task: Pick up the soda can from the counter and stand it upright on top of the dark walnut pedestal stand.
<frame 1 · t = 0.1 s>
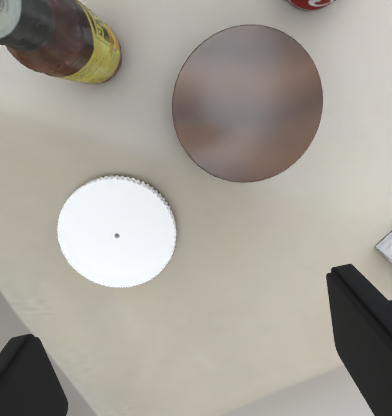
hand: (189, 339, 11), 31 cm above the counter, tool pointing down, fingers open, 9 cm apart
stand: (236, 107, 39), on the counter
plastic lid: (121, 227, 43), on the counter
sauce bottle: (93, 53, 37), on the counter
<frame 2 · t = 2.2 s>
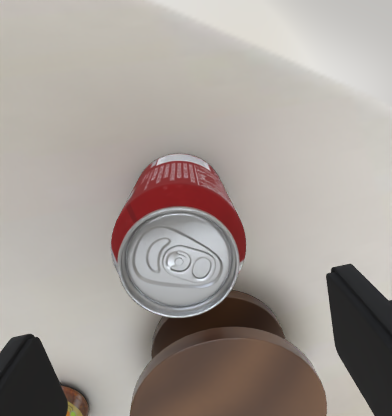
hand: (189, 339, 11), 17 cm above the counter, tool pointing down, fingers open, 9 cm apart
stand: (218, 346, 31), on the counter
soda can: (179, 194, 27), on the counter
sauce bottle: (57, 404, 33), on the counter
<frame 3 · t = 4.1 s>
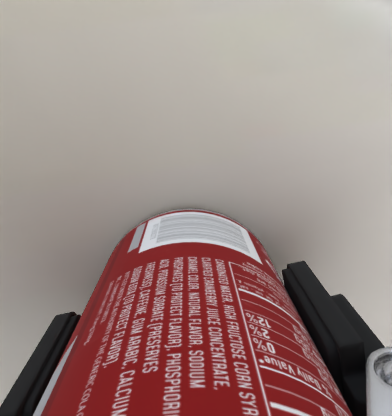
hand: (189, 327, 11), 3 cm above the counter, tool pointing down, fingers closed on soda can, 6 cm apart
soda can: (189, 277, 14), on the counter, touching gripper
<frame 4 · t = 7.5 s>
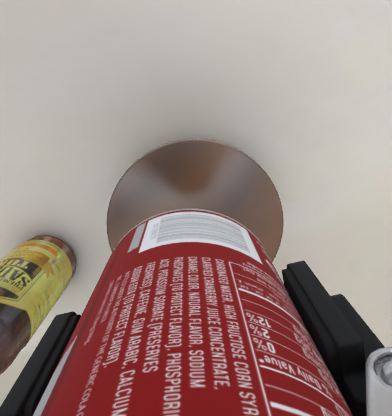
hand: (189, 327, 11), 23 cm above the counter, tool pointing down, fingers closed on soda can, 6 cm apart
stand: (193, 202, 34), on the counter
soda can: (189, 277, 14), point 20 cm above the counter, touching gripper
sauce bottle: (47, 259, 36), on the counter
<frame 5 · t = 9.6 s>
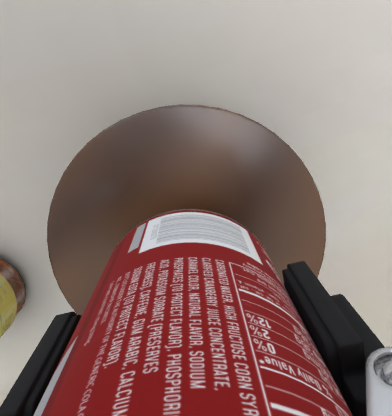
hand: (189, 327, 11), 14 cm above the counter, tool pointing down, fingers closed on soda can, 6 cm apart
stand: (187, 205, 24), on the counter
soda can: (189, 277, 14), point 10 cm above the counter, touching gripper
when the fingers open (11 cm above the counter, at t = 10.9 s): soda can stays where it is, resting on stand.
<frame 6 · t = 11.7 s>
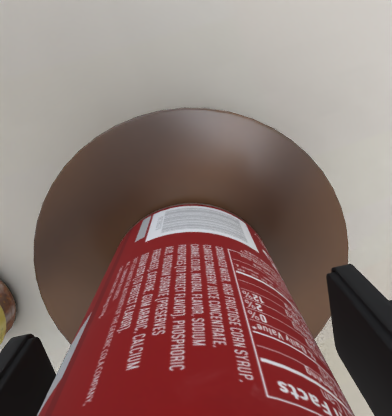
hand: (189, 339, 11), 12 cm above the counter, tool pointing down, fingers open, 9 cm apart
stand: (191, 216, 22), on the counter
soda can: (191, 268, 15), point 7 cm above the counter, touching stand
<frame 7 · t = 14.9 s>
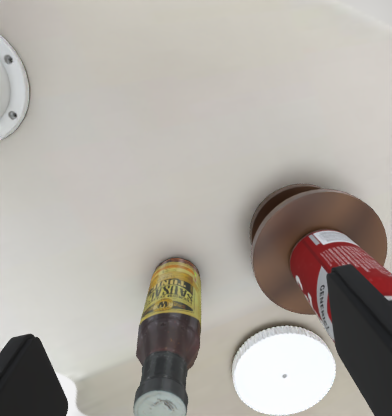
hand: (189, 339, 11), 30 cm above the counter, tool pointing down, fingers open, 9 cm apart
stand: (297, 230, 42), on the counter
soda can: (319, 256, 35), point 7 cm above the counter, touching stand
plastic lid: (279, 361, 49), on the counter
sauce bottle: (175, 276, 44), on the counter
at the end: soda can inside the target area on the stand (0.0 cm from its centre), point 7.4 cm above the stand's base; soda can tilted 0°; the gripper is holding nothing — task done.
